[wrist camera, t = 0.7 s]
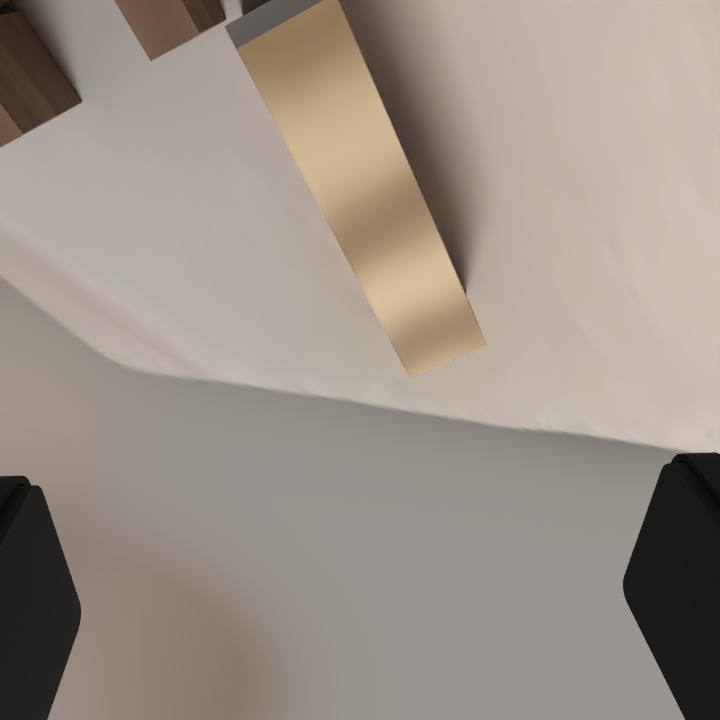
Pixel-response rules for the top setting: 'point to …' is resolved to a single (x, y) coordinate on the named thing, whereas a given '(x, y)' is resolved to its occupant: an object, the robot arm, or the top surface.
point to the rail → (358, 174)
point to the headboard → (47, 82)
